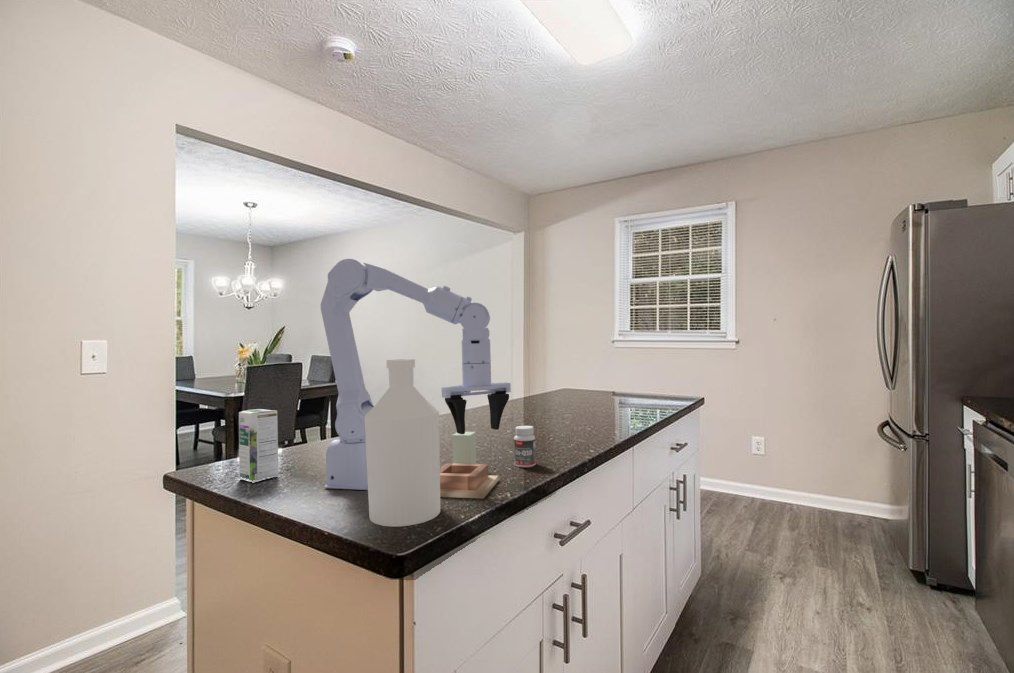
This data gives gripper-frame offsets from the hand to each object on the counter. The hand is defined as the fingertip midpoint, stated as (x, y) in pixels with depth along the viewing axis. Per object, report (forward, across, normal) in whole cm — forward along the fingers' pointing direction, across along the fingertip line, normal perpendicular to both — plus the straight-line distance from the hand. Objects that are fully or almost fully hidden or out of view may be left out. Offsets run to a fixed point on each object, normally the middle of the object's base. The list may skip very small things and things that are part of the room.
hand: (478, 431), depth 98 cm
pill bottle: (+10, +14, +4) cm, 17 cm away
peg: (+10, +1, +8) cm, 13 cm away
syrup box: (+10, -37, +29) cm, 48 cm away
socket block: (+10, -5, -3) cm, 11 cm away
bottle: (+10, -19, -10) cm, 23 cm away
